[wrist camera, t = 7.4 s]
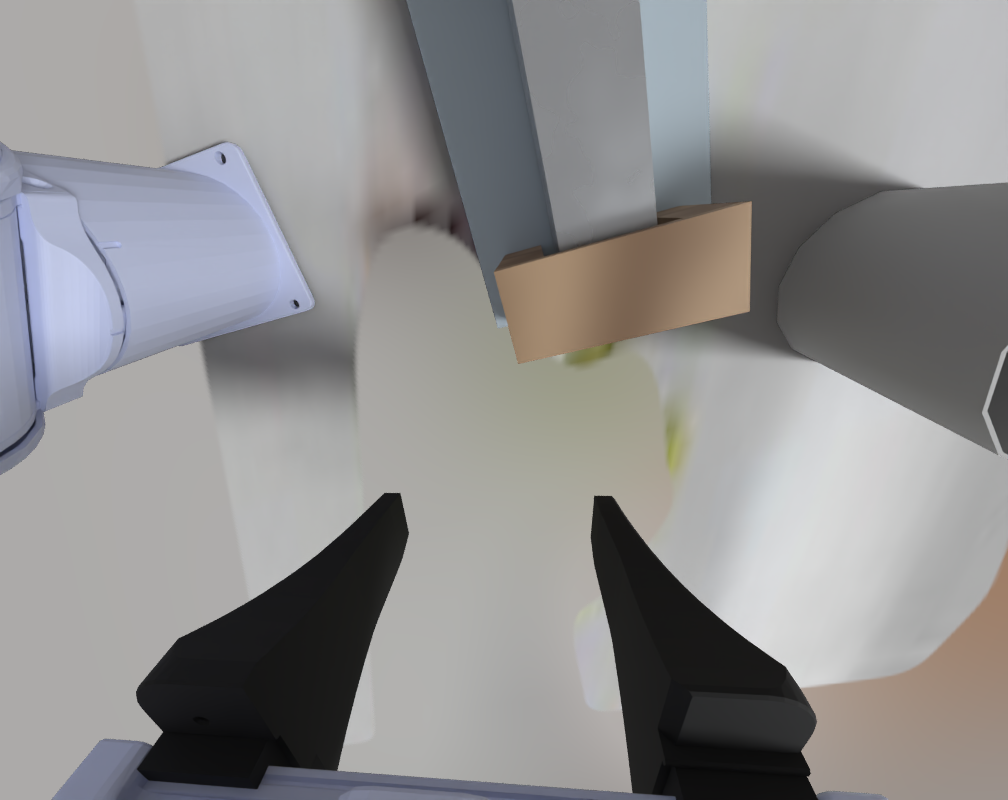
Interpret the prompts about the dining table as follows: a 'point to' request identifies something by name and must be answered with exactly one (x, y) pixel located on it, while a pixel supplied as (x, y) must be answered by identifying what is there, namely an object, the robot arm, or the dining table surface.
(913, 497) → the dining table surface
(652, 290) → the socket
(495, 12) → the board
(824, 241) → the cup
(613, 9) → the bar
